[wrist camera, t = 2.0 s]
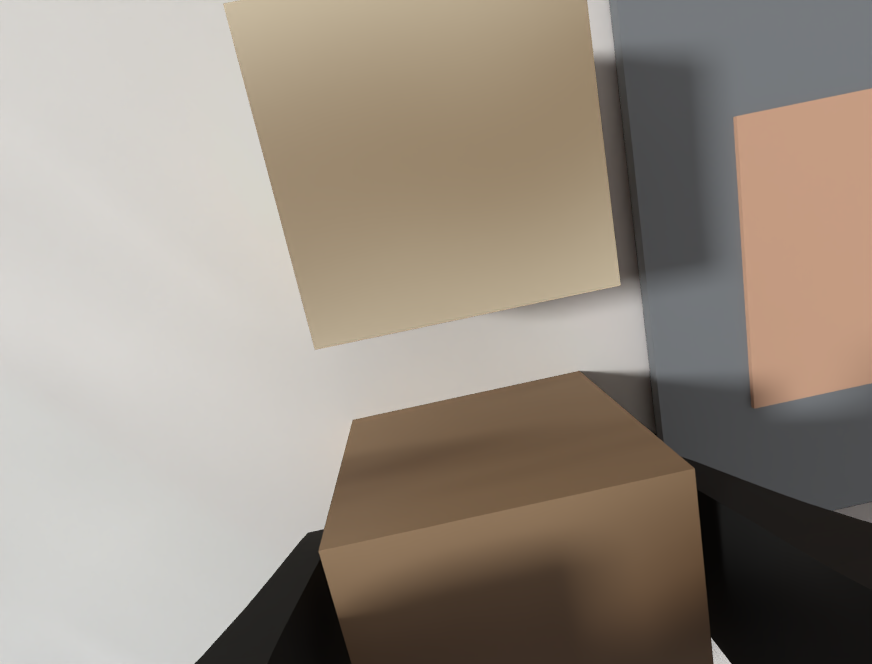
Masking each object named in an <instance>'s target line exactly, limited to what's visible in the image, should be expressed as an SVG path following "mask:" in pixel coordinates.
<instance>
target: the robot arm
mask: <svg viewBox="0 0 872 664" xmlns="http://www.w3.org/2000/svg"><path fill="white" fill-rule="evenodd" d="M682 458H683V459H684V460H685V461H686V462H688V463H689V464H690V465H691V466H692V467H694V468H695V477H696V487H697V497H698V508H699V518H700V529H701V539H702V550H703V560H704V571H705V581H706V592H707V602H708V612H709V623H710V633H711V638H712V639H713V640H714V642H715V643H716V644H717V645H718V647H719V648H720V649H721V651H722V652H723V653H724V655H725V656H726V657H727V658H728V660H729V661H730V662H731V664H872V523H869V522H866V521H862V520H859V519H856V518H852V517H849V516H846V515H843V514H840V513H837V512H834V511H831V510H827V509H824V508H821V507H818V506H815V505H812V504H809V503H806V502H803V501H800V500H797V499H795V498H792V497H789V496H786V495H783V494H780V493H778V492H775V491H772V490H769V489H767V488H764V487H761V486H759V485H756V484H753V483H751V482H748V481H745V480H743V479H740V478H738V477H735V476H732V475H730V474H727V473H725V472H722V471H719V470H717V469H714V468H711V467H709V466H706V465H704V464H701V463H698V462H695V461H693V460H690V459H687V458H684V457H682ZM323 532H324V529H323V530H319V531H314V532H309V533H307V534H306V536H305V537H304V538H303V539H302V540H301V541H300V542H299V544H298V545H297V546H296V547H295V548H294V550H293V551H292V552H291V553H290V554H289V556H288V557H287V558H286V559H285V561H284V562H283V563H282V564H281V566H280V567H279V568H278V569H277V571H276V572H275V573H274V574H273V576H272V577H271V578H270V579H269V580H268V582H267V583H266V584H265V585H264V586H263V588H262V589H261V590H260V591H259V592H258V594H257V595H256V596H255V597H254V598H253V600H252V601H251V602H250V603H249V604H248V606H247V607H246V608H245V609H244V610H243V611H242V612H241V614H240V615H239V616H238V617H237V618H236V619H235V620H234V621H233V622H232V624H231V625H230V626H229V627H228V628H227V629H226V630H225V631H224V632H223V634H222V635H221V636H220V637H219V638H218V639H217V640H216V641H215V642H214V643H213V645H212V646H211V647H210V648H209V649H208V650H207V651H206V652H205V653H204V655H203V656H202V657H201V658H200V659H199V660H198V661H197V662H196V663H195V664H351V660H350V657H349V654H348V650H347V647H346V643H345V640H344V637H343V633H342V630H341V626H340V623H339V620H338V616H337V613H336V609H335V606H334V603H333V599H332V596H331V592H330V589H329V585H328V582H327V579H326V575H325V572H324V568H323V565H322V562H321V558H320V555H319V547H320V543H321V539H322V536H323Z"/></svg>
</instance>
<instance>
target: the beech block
mask: <svg viewBox="0 0 872 664" xmlns="http://www.w3.org/2000/svg"><path fill="white" fill-rule="evenodd" d="M223 5H224V9H225V12H226V16H227V20H228V24H229V28H230V31H231V35H232V39H233V43H234V46H235V50H236V54H237V58H238V62H239V65H240V69H241V73H242V77H243V80H244V84H245V88H246V92H247V95H248V99H249V103H250V107H251V111H252V114H253V118H254V122H255V126H256V129H257V133H258V137H259V141H260V145H261V148H262V152H263V156H264V160H265V163H266V167H267V171H268V175H269V178H270V182H271V186H272V190H273V194H274V197H275V201H276V205H277V209H278V212H279V216H280V220H281V224H282V228H283V231H284V235H285V239H286V243H287V246H288V250H289V254H290V258H291V261H292V265H293V269H294V273H295V277H296V280H297V284H298V288H299V292H300V295H301V299H302V303H303V307H304V311H305V314H306V318H307V322H308V326H309V329H310V333H311V337H312V341H313V344H314V348H315V350H317V349H321V348H326V347H331V346H336V345H340V344H345V343H350V342H355V341H359V340H364V339H369V338H374V337H378V336H383V335H388V334H393V333H397V332H402V331H407V330H412V329H416V328H421V327H426V326H431V325H435V324H440V323H445V322H450V321H454V320H459V319H464V318H469V317H473V316H478V315H483V314H488V313H492V312H497V311H502V310H507V309H511V308H516V307H521V306H526V305H530V304H535V303H540V302H545V301H549V300H554V299H559V298H564V297H568V296H573V295H578V294H583V293H587V292H592V291H597V290H602V289H606V288H611V287H616V286H621V284H620V276H619V267H618V259H617V250H616V242H615V234H614V225H613V217H612V208H611V200H610V191H609V183H608V174H607V166H606V157H605V149H604V141H603V132H602V124H601V115H600V107H599V98H598V90H597V81H596V73H595V65H594V56H593V48H592V39H591V31H590V22H589V14H588V5H587V0H239V1H234V2H229V3H224V4H223Z"/></svg>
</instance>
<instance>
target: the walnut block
mask: <svg viewBox="0 0 872 664" xmlns="http://www.w3.org/2000/svg"><path fill="white" fill-rule="evenodd" d="M319 555H320V558H321V562H322V565H323V568H324V572H325V575H326V579H327V582H328V585H329V589H330V592H331V596H332V599H333V603H334V606H335V609H336V613H337V616H338V620H339V623H340V626H341V630H342V633H343V637H344V640H345V643H346V647H347V650H348V654H349V657H350V660H351V664H713V654H712V644H711V633H710V623H709V612H708V602H707V592H706V581H705V571H704V560H703V550H702V539H701V529H700V518H699V508H698V497H697V487H696V477H695V468H694V467H692V466H691V465H690V464H689V463H688V462H686V461H685V460H684V459H683V458H682V457H681V456H679V455H678V454H677V453H676V452H675V451H673V450H672V449H671V448H670V447H669V446H668V445H666V444H665V443H664V442H663V441H662V440H660V439H659V438H658V437H657V436H656V435H655V434H653V433H652V432H651V431H650V430H649V429H647V428H646V427H645V426H644V425H643V424H642V423H640V422H639V421H638V420H637V419H636V418H634V417H633V416H632V415H631V414H630V413H629V412H627V411H626V410H625V409H624V408H623V407H622V406H620V405H619V404H618V403H617V402H616V401H614V400H613V399H612V398H611V397H610V396H609V395H607V394H606V393H605V392H604V391H603V390H601V389H600V388H599V387H598V386H597V385H596V384H594V383H593V382H592V381H591V380H590V379H588V378H587V377H586V376H585V375H584V374H583V373H581V372H580V371H577V372H573V373H568V374H563V375H559V376H554V377H549V378H545V379H540V380H536V381H531V382H526V383H522V384H517V385H512V386H508V387H503V388H499V389H494V390H489V391H485V392H480V393H475V394H471V395H466V396H462V397H457V398H452V399H448V400H443V401H439V402H434V403H429V404H425V405H420V406H415V407H411V408H406V409H402V410H397V411H392V412H388V413H383V414H378V415H374V416H369V417H365V418H360V419H355V420H353V421H352V425H351V429H350V433H349V436H348V440H347V444H346V448H345V452H344V455H343V459H342V463H341V467H340V471H339V475H338V478H337V482H336V486H335V490H334V494H333V497H332V501H331V505H330V509H329V513H328V516H327V520H326V524H325V528H324V532H323V536H322V539H321V543H320V547H319Z"/></svg>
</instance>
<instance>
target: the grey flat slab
mask: <svg viewBox="0 0 872 664" xmlns="http://www.w3.org/2000/svg"><path fill="white" fill-rule="evenodd" d="M609 3H610V12H611V21H612V30H613V39H614V48H615V58H616V67H617V76H618V85H619V94H620V103H621V112H622V122H623V131H624V140H625V149H626V158H627V167H628V176H629V186H630V195H631V204H632V213H633V222H634V231H635V240H636V250H637V259H638V268H639V277H640V286H641V295H642V304H643V314H644V323H645V332H646V341H647V350H648V359H649V368H650V378H651V387H652V396H653V405H654V414H655V423H656V433H657V437H658V438H659V439H660V440H662V441H663V442H664V443H665V444H666V445H668V446H669V447H670V448H671V449H672V450H673V451H675V452H676V453H677V454H678V455H679V456H681V457H684V458H687V459H690V460H693V461H695V462H698V463H701V464H704V465H706V466H709V467H711V468H714V469H717V470H719V471H722V472H725V473H727V474H730V475H732V476H735V477H738V478H740V479H743V480H745V481H748V482H751V483H753V484H756V485H759V486H761V487H764V488H767V489H769V490H772V491H775V492H778V493H780V494H783V495H786V496H789V497H792V498H795V499H797V500H800V501H803V502H806V503H809V504H812V505H815V506H818V507H821V508H824V509H827V510H831V511H832V510H837V509H841V508H846V507H850V506H855V505H859V504H864V503H868V502H872V0H609Z"/></svg>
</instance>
